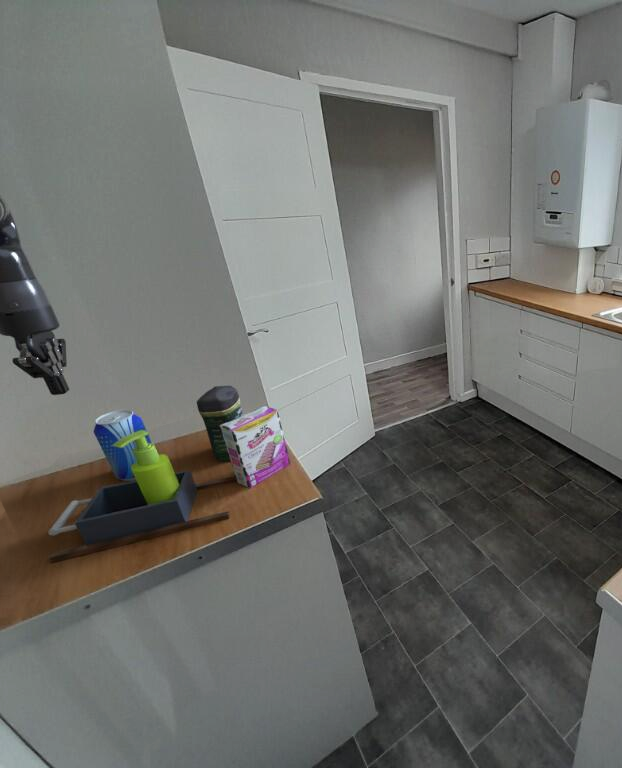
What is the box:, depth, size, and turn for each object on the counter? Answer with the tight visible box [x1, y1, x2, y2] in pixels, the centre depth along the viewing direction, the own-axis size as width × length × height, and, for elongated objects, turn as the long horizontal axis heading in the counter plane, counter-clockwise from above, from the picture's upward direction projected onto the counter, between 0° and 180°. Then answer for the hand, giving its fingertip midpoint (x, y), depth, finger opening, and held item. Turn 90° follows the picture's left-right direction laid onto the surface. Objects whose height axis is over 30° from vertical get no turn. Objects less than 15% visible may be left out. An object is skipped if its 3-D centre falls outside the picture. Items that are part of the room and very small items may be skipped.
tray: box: [47, 469, 198, 545], centre depth 84 cm, size 20×12×6 cm, turn 115°
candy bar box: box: [220, 405, 291, 490], centre depth 97 cm, size 11×5×16 cm, turn 154°
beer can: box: [93, 409, 153, 482], centre depth 97 cm, size 8×8×16 cm
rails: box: [48, 475, 237, 563], centre depth 87 cm, size 28×15×1 cm, turn 115°
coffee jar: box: [196, 385, 244, 463], centre depth 105 cm, size 10×8×19 cm
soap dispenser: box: [112, 430, 180, 505], centre depth 84 cm, size 6×7×20 cm
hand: (61, 393), depth 80 cm, fingers closed
